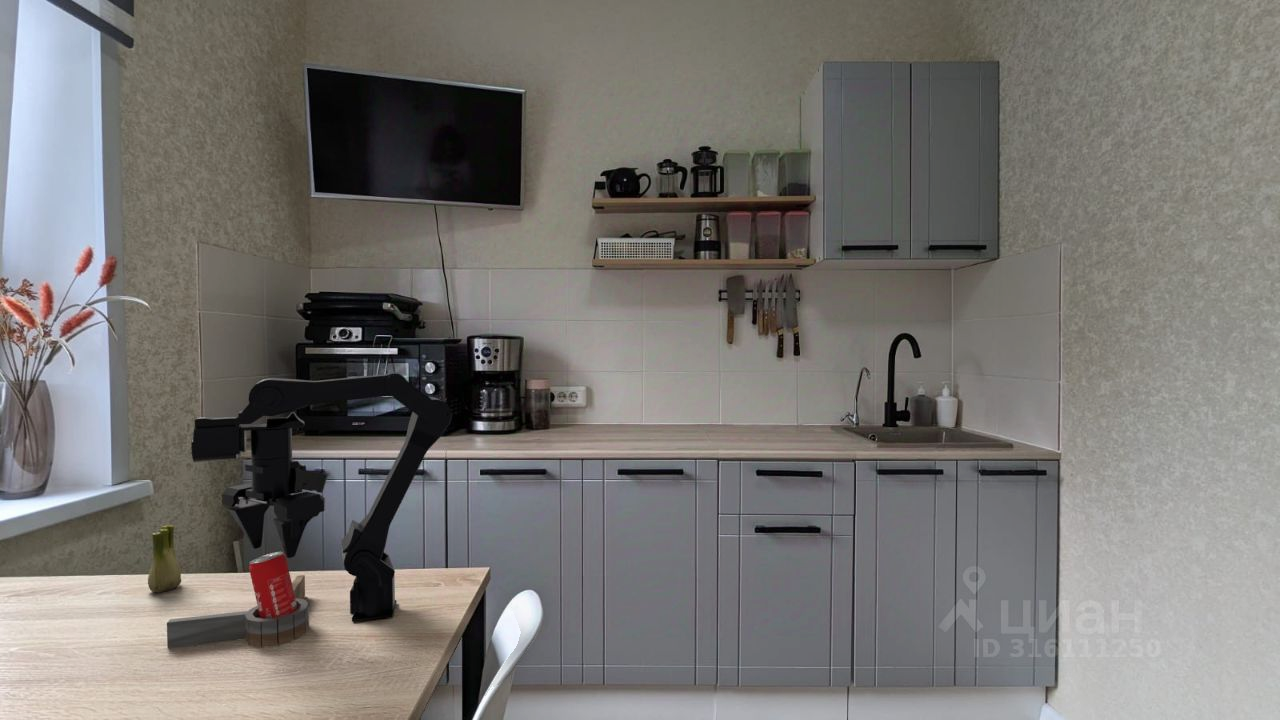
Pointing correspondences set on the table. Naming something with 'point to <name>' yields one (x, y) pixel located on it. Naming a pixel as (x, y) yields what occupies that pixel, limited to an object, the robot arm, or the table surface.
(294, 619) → the grey ring bracket
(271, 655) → the table surface
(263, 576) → the beverage can
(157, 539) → the fennel bulb
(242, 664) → the table surface
